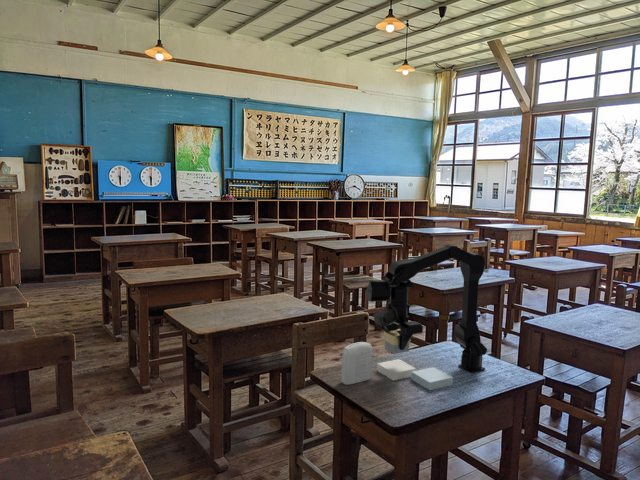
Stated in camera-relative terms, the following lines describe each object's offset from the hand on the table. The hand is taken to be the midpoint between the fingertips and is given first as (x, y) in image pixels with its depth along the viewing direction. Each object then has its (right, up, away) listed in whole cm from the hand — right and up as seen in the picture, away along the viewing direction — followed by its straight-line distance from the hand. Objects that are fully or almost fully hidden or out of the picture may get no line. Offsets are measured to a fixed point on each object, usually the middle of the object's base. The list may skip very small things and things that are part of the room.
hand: (396, 347), depth 158 cm
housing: (0, -1, 0) cm, 1 cm away
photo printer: (-14, -10, -5) cm, 18 cm away
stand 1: (0, -9, +1) cm, 9 cm away
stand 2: (+10, -10, -5) cm, 15 cm away
